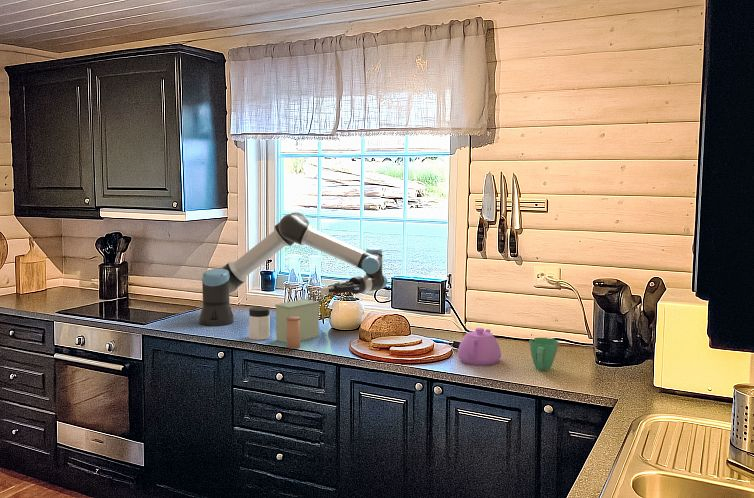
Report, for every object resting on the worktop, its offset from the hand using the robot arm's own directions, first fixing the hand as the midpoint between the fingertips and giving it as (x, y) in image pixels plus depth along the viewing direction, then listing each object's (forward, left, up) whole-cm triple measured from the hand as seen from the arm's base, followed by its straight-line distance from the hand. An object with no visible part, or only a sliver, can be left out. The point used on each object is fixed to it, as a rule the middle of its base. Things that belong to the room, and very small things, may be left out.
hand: (321, 291), depth 292 cm
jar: (-12, -24, -18) cm, 32 cm away
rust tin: (+9, -25, -18) cm, 32 cm away
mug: (+96, +12, -18) cm, 98 cm away
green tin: (0, -14, -18) cm, 22 cm away
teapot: (+73, +8, -18) cm, 75 cm away
